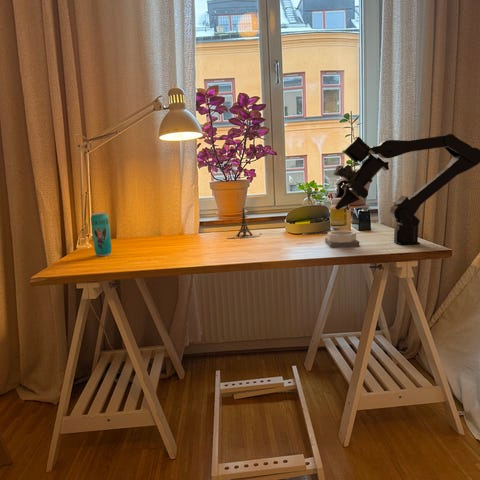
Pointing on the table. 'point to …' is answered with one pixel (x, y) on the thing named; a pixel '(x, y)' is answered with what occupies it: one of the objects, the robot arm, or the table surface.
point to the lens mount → (342, 239)
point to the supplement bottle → (337, 215)
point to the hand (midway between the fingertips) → (334, 207)
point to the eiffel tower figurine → (245, 230)
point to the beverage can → (101, 234)
